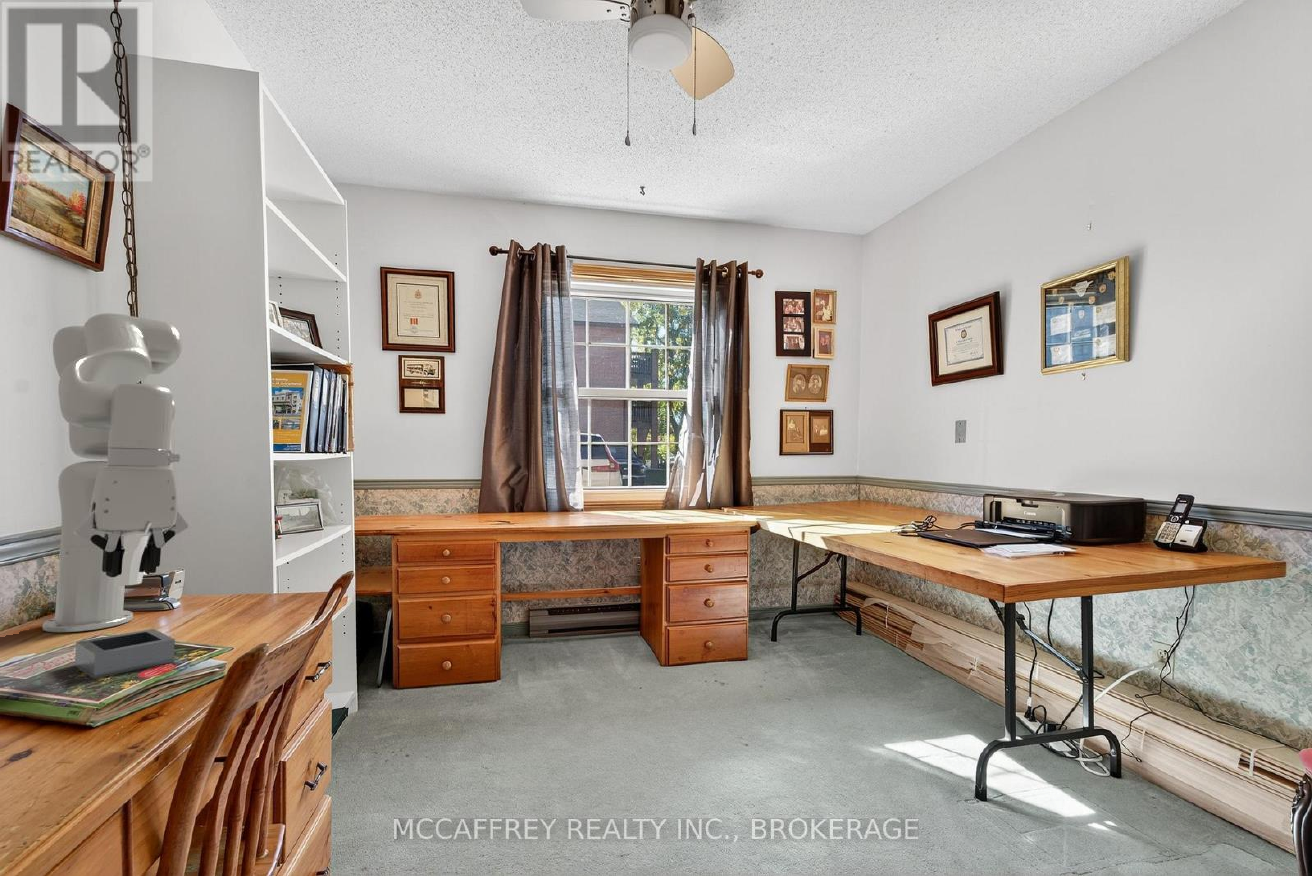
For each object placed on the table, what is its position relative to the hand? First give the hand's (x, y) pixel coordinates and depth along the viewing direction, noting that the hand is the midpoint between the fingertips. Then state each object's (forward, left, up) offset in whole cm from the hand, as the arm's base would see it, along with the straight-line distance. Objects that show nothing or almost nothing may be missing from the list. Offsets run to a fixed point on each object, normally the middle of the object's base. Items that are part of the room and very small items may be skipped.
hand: (131, 572), depth 94 cm
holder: (0, 0, -14) cm, 14 cm away
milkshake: (0, 0, -2) cm, 2 cm away
